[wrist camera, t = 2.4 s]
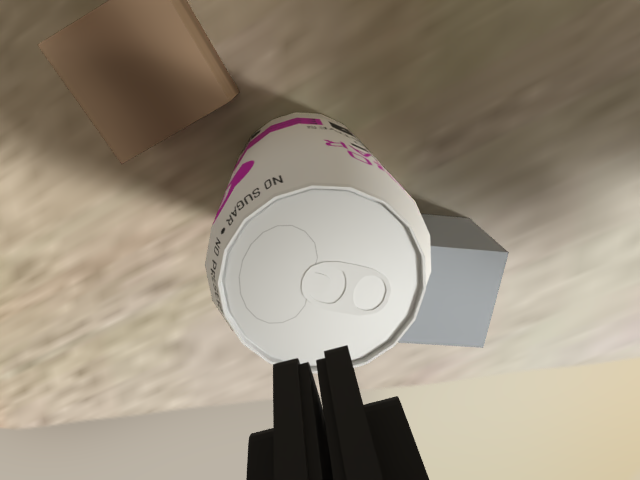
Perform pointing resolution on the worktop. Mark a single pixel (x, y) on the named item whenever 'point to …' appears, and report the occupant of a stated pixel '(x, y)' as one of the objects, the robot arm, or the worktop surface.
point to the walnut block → (140, 71)
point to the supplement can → (316, 246)
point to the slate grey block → (458, 284)
